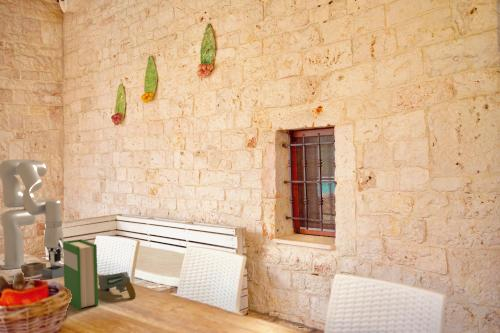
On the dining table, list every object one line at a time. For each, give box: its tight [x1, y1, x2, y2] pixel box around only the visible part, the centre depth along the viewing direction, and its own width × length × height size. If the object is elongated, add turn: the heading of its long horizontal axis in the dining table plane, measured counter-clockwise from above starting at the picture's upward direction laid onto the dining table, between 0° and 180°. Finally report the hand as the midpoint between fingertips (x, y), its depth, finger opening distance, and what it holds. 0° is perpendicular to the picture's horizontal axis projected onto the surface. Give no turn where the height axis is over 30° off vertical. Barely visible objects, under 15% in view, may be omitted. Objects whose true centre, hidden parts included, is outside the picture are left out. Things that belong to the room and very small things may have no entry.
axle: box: [49, 250, 60, 270], centre depth 215 cm, size 4×4×11 cm
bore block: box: [20, 261, 47, 278], centre depth 220 cm, size 8×8×5 cm
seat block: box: [41, 264, 64, 280], centre depth 215 cm, size 9×9×4 cm
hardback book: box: [62, 239, 99, 311], centre depth 170 cm, size 18×7×24 cm, turn 40°
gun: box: [97, 271, 137, 300], centre depth 183 cm, size 3×25×15 cm, turn 50°
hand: (54, 260), depth 215 cm, fingers closed on axle, 3 cm apart
